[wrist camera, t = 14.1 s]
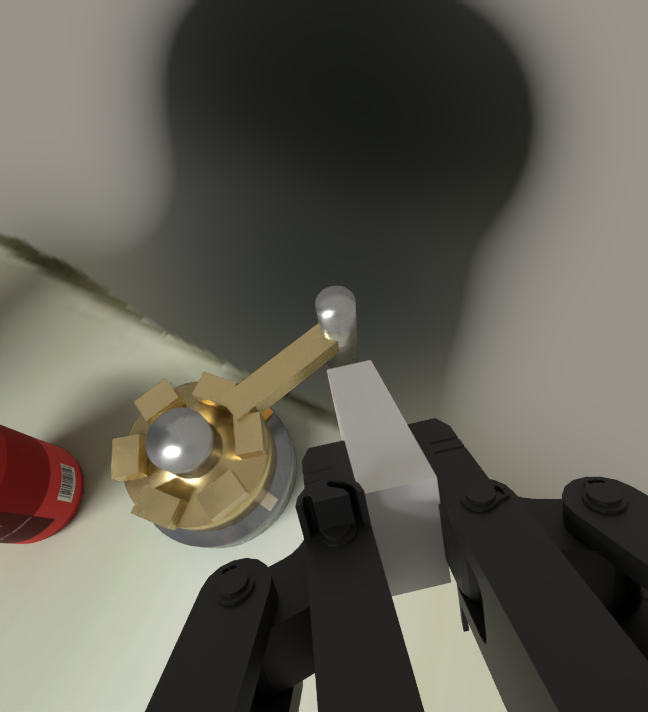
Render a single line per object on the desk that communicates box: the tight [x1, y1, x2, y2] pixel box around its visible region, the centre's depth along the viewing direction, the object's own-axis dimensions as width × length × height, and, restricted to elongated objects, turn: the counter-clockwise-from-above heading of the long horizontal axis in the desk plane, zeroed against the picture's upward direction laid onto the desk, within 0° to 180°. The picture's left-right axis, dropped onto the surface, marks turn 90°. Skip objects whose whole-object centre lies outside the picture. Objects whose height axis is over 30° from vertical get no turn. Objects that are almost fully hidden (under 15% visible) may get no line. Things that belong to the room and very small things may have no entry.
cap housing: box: [153, 407, 296, 548], centre depth 35 cm, size 12×12×3 cm
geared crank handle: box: [111, 286, 358, 532], centre depth 31 cm, size 19×10×9 cm, turn 129°
